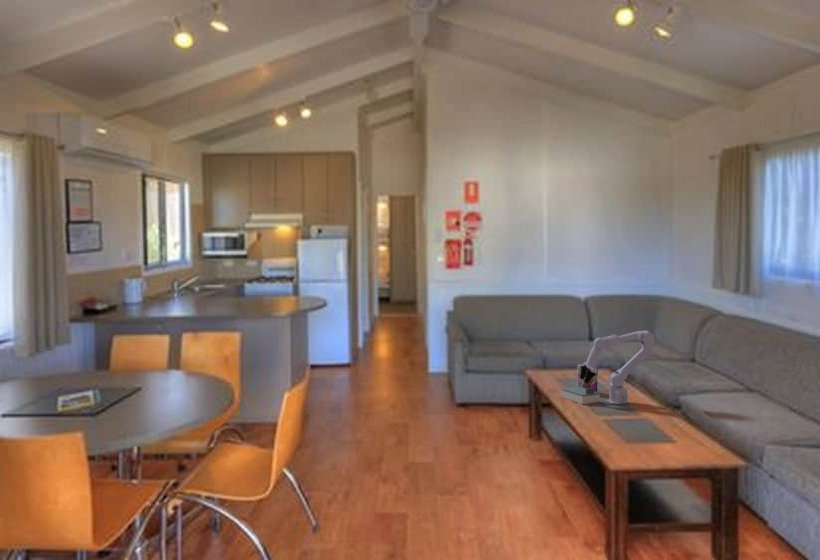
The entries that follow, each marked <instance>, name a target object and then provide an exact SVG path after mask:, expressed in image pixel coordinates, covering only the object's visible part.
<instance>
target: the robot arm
mask: <svg viewBox="0 0 820 560" xmlns="http://www.w3.org/2000/svg"><path fill="white" fill-rule="evenodd" d="M632 340H636V341H640V342H641V349H639V351H637V353H635V354H634V355H633V356H632V357H631V358H630V359H629V360H628V361H627V362H626V363H625V364H624V365H623V366H622V367H620V368H619V369H617V370H616V371H613V372H611V373H610V374H609V377H608V378H609V381H610V383H609V394H608V397H609V399H605V401H606V402H608V403H612V404H615V405H623V404H629V401H628V390H627V388H625V387H624V382H625V380H627V377H628V376H629V374H631V373H632V372H633V371H634V370H635V369H636V368H637V367H638V366H639V365H640V364H641V363H642V362H644V361H645V359H647V358H648V357H649V355H651V354H652V352H653V348H654V344H655V343H656V338H655V335H654V334H653V333H652V332H650V331H649V330H647V329H645V330H638V331H633V332H629V333H626V334H622V335H617V334H614V333H613V334H612V333H611V334H610V335H609V336H602V337H597V338H595V339H594V340H593V345H592V348H591V350H590V352H589V354H588V357H587V358H586V361H584V362H583V363H582V364H581V374H580V379H584V378H585V379H584V382H585V383H587V384H588V383H589V381H590V380H591V379H592V378H593V377H594V376H595V375H596V373H595V371H596V369H595V367H596V365H597V364H598V362H599V361H600V358H601V355H602V352H603V350H605V349H606V348H610V347H615V346H619V345H620V343H622V342H628V341H632ZM582 365H584V366H582ZM597 366H598V365H597Z"/></svg>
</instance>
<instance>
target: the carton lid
mask: <svg viewBox="0 0 820 560" xmlns="http://www.w3.org/2000/svg"><path fill="white" fill-rule="evenodd" d="M562 390H565V391H568V392H571V393H574V394H577V395H580V396H588V395H595V394H600V395H601V393H600V392H599V391H597V392H596V391H594V388H582V387H579V386H577V385H576V386H571V387H563V388H561V391H562Z"/></svg>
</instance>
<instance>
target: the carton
mask: <svg viewBox="0 0 820 560" xmlns="http://www.w3.org/2000/svg"><path fill="white" fill-rule="evenodd" d="M563 398H565V399H564V400H566V399H568V400H567V401H569V400H571V401H570V402H572V401H574V402H573V403H575V402H577V403H576V404H578V403H580V404H579V405H581V404H582V405H581V406H584V405H583V404H585V405H590V404H591V403H592V404H599V403H600V402H601V401H600V400H601V393H600V394H595V395H588V396H580V395H577V394H574V393H571V392H568V391H565V390H562V389H561V399H563ZM592 404H591V405H592Z"/></svg>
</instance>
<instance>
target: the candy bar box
mask: <svg viewBox="0 0 820 560" xmlns="http://www.w3.org/2000/svg"><path fill="white" fill-rule="evenodd" d="M581 365H582V366H584V365H583V364H577V365H576V366H577V372H576V373H577V376H576V377H577V381H576V387H577V386H579V387H582V388H594V391H596V392H598V374H599V372H598V371H599V370H598V369H599V366H598V365H596V367H595V369H596V371H595V373H596V375H595V376H594V377H593V378H592V379H591V380H590V381H589V383H588V384H587V383H585V382H584V379H585V378H584V379H580V374H581Z"/></svg>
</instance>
